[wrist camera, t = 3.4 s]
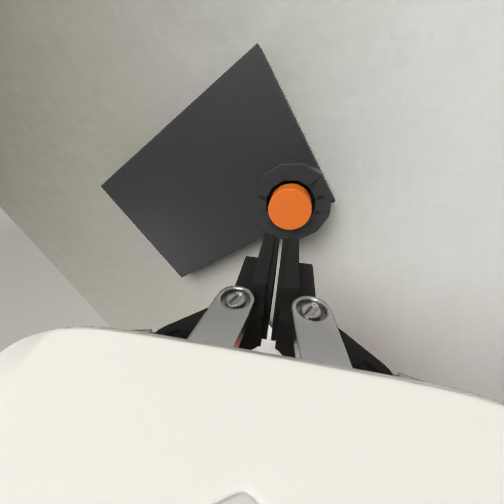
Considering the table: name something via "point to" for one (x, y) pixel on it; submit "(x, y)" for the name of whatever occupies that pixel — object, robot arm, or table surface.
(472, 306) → the table surface
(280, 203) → the button
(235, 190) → the scale
